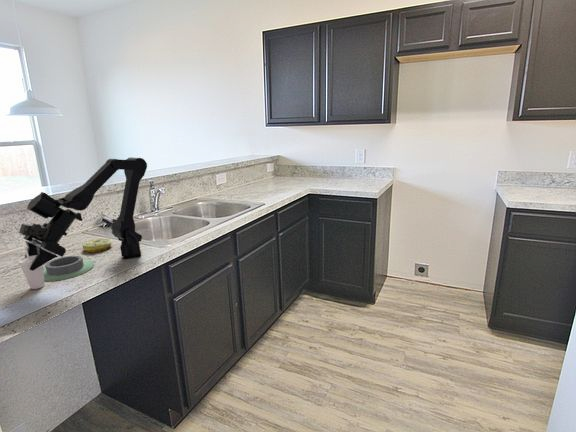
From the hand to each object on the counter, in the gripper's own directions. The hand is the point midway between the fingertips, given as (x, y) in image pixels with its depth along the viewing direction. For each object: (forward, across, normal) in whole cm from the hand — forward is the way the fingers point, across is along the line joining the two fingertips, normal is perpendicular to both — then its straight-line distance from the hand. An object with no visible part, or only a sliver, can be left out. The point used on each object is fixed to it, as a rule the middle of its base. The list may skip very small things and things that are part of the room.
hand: (27, 267), depth 107 cm
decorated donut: (-16, -21, +27) cm, 38 cm away
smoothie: (+4, 0, +6) cm, 7 cm away
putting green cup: (-4, -7, +14) cm, 16 cm away
